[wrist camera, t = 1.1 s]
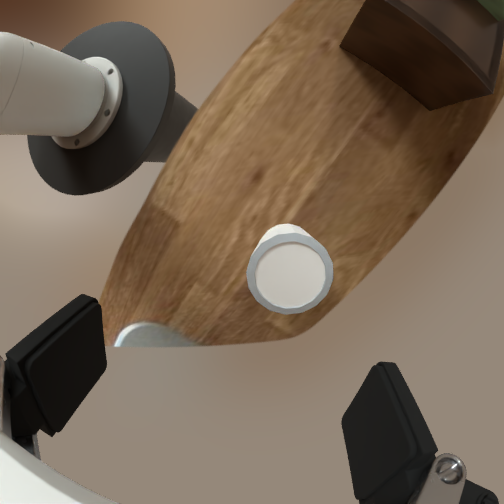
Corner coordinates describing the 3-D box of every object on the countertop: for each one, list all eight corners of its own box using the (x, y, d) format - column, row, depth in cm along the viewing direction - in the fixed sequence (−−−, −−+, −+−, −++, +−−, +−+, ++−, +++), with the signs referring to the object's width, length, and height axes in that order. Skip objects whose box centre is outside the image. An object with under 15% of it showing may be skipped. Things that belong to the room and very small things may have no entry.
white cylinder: (240, 264, 29) (231, 293, 22) (271, 205, 27) (271, 216, 20) (298, 292, 29) (305, 327, 22) (331, 237, 27) (350, 258, 20)
